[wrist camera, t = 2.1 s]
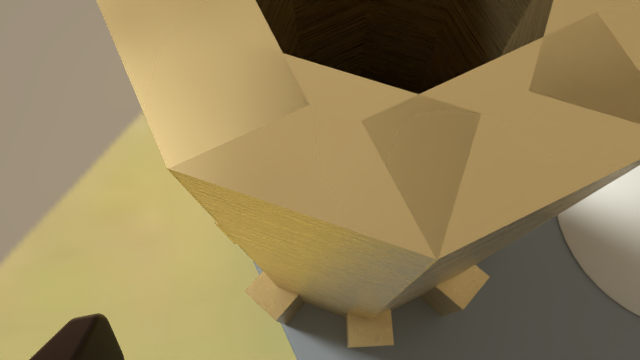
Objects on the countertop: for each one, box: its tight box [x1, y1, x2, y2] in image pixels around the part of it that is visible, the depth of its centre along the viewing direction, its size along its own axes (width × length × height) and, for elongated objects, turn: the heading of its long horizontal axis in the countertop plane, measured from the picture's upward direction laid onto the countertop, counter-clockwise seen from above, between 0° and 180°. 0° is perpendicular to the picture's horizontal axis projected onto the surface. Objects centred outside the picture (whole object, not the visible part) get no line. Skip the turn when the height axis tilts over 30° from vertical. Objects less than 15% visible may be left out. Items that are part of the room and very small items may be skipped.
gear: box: [96, 0, 640, 348], centre depth 12 cm, size 8×8×13 cm
